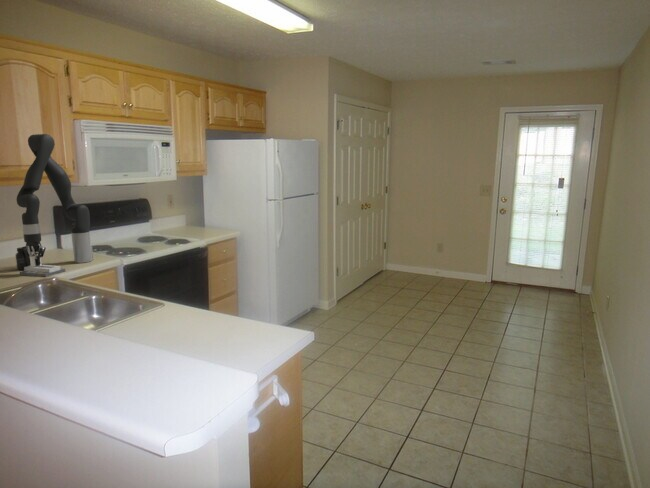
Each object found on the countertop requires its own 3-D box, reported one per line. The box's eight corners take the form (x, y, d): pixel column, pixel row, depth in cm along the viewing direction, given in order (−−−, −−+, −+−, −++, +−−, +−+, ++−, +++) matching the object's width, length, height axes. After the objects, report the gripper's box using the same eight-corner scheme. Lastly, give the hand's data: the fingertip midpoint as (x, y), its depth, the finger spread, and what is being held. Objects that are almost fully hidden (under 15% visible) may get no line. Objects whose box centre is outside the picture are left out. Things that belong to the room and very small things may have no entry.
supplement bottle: (35, 268, 246) (32, 246, 244) (24, 270, 239) (21, 248, 237) (25, 267, 248) (22, 246, 246) (14, 270, 241) (11, 248, 239)
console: (40, 269, 242) (39, 263, 241) (65, 271, 237) (64, 264, 237) (19, 274, 231) (18, 268, 230) (45, 276, 226) (45, 270, 225)
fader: (37, 268, 237) (35, 254, 236) (43, 268, 236) (41, 255, 235) (29, 270, 233) (28, 256, 232) (35, 270, 232) (34, 256, 231)
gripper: (48, 231, 233) (52, 264, 236) (28, 231, 237) (32, 263, 240) (36, 234, 226) (40, 267, 229) (14, 233, 230) (19, 266, 233)
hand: (36, 265), depth 234 cm, fingers closed on fader, 2 cm apart
